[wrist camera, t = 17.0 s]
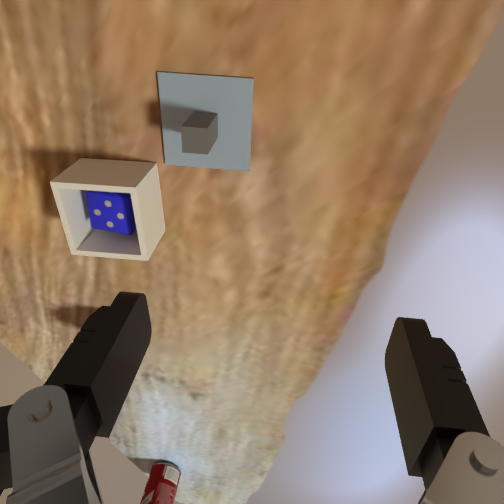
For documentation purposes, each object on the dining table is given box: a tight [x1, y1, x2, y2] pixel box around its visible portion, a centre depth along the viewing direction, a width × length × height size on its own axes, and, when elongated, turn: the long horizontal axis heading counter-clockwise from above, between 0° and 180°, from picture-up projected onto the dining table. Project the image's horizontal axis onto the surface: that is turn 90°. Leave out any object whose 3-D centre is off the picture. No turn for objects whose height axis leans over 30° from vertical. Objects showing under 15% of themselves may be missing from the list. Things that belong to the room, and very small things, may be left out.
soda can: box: [140, 462, 181, 504], centre depth 83 cm, size 7×7×12 cm
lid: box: [157, 72, 254, 171], centre depth 40 cm, size 10×10×6 cm
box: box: [50, 158, 165, 261], centre depth 46 cm, size 9×9×7 cm
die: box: [87, 190, 136, 235], centre depth 46 cm, size 5×5×5 cm
